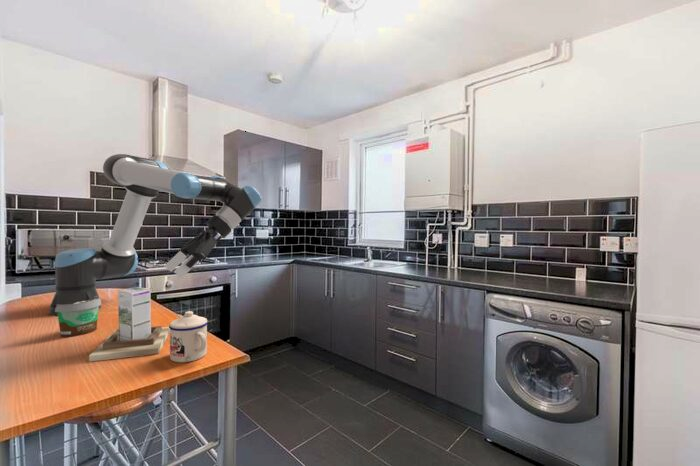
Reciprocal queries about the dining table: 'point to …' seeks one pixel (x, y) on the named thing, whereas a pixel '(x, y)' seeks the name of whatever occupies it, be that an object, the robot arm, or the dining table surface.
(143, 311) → the syrup box
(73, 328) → the food container
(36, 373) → the dining table surface
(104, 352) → the beige square tray
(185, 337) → the teacup with lid
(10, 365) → the dining table surface
